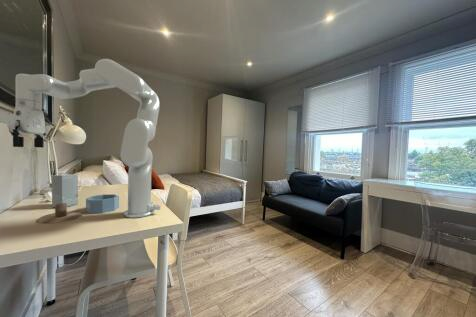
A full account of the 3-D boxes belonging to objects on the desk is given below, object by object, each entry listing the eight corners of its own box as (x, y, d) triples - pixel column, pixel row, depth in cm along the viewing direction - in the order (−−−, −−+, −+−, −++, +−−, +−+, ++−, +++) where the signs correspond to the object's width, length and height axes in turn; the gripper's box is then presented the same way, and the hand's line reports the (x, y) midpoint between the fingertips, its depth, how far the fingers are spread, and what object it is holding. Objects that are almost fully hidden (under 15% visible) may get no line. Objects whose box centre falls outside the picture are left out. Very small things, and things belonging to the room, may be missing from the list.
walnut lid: (88, 213, 91) (88, 200, 91) (68, 223, 78) (68, 208, 78) (54, 213, 89) (54, 200, 89) (28, 224, 76) (27, 209, 75)
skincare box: (62, 208, 96) (62, 175, 95) (50, 207, 97) (50, 175, 96) (79, 204, 104) (79, 173, 103) (68, 202, 105) (68, 173, 105)
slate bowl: (121, 205, 103) (121, 194, 103) (110, 212, 91) (110, 199, 91) (95, 206, 101) (95, 194, 101) (81, 213, 89) (81, 200, 89)
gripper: (20, 101, 74) (20, 147, 75) (55, 110, 91) (54, 147, 92) (-4, 99, 73) (-3, 146, 74) (36, 109, 90) (36, 147, 91)
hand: (29, 147), depth 83 cm, fingers open, 9 cm apart
